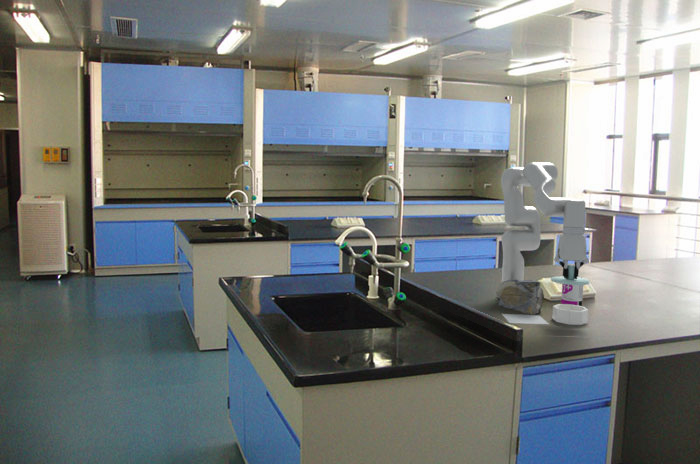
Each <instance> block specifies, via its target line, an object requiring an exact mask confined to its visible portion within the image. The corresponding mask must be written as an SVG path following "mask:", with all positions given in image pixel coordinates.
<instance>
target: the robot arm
mask: <svg viewBox="0 0 700 464" xmlns="http://www.w3.org/2000/svg"><path fill="white" fill-rule="evenodd" d="M558 174H559V171H558V168H557V166H556V165H555V164H554V163H551V162H541V161H540V162H539V161H537V162H536V161H533V162H529V163H527V164H526V165H524V167H522V166H513V167H508V168H506V169H505V170H503V172H502V174H501V179H500V184H501V188H502V189H501V191H502V193H503V207H504V208H503V209H504V212H503V213H504V222H505V225H506V226H508V227H512V228H525V229H510V230H507V231H504V233H502V236H501V248H502V268H501V271H502V273H501V274H502V275H501V283H502V282H504V281H507V280H514V279H516V280H518V281H521V280H524V274H525V273H524V272H525V259H524V256H523V255H522V253H521V252H523V251H535V250H537V249H539V247H540V244H541V215H540V213H541V214H542V215H543V216H545V217H549V218H552V217H553V218H555V217H556V218H557V217H560V218H563V224H562V225H563V226H562V233H561V234H560V235H559V238H558V241H557V243H558V244H557V250H556V255H555V257H554V259H553V261H554V262H555V263H558V264H559V265H560V266H561V267H562V276H564V278H565V279H568V271H569V269H568V267H567V266H568V265H569V261H571V262H574V265H575V272H574V279H577V277H578V276H579V272H580V271H579V269H580V268H582V267H583V266H584V265H586V264H588V263H589V258H588V256H587V239H586V238H587V237H586V235H585V233H588V231H589V230H588V228H585V218H586V217H585V216H586V214H585V213H586V201H584V200H583V199H577V198H576V199H575V198H571V197H550V196H549V195H550V194H553V192H554V191H555V189H556V185H557V184H556V181H555V180H556V179H558ZM519 187H532V188H533V189H534V191H535V192H534V196H533V198H534V201H533V202H534V204H535V206H536V207H535V206H528V205H524V196H523V193H522V191H521V190H520V188H519ZM539 211H540V212H539ZM497 298H498V299H500V298H499V297H498V296H497Z"/></svg>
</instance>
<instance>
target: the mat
mask: <svg viewBox="0 0 700 464" xmlns="http://www.w3.org/2000/svg"><path fill="white" fill-rule="evenodd" d="M501 315H502V316H503V317H504V319H505V320H506V321H507V322H508V323H509V324H518V325H519V324H522V325H524V324H525V325H526V324H527V325H550V323H549V322H547V321H546V320H545V319H544V318H543V317H542V316H541V315H538V314H534V315H531V314H513V313H511V314H510V313H501Z"/></svg>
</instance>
